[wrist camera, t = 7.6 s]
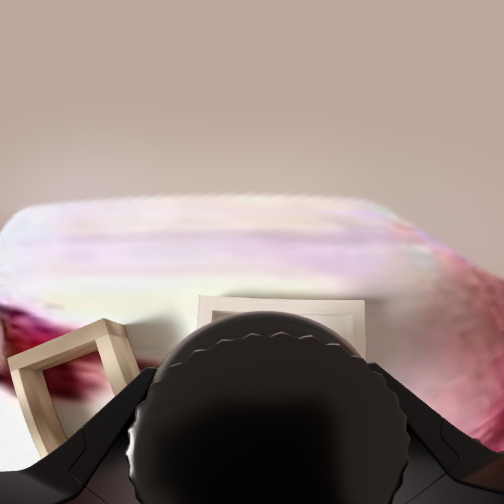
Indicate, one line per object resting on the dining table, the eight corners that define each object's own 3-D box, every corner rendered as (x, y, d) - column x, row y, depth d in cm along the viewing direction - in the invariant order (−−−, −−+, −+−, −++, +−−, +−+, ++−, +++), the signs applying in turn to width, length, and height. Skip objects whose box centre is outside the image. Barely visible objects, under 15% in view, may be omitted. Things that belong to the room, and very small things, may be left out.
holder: (178, 455, 17) (166, 469, 14) (74, 473, 16) (53, 483, 12) (123, 324, 21) (103, 318, 18) (31, 361, 19) (7, 358, 16)
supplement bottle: (325, 340, 16) (469, 285, 4) (311, 453, 13) (410, 576, 2) (204, 327, 16) (104, 245, 5) (190, 441, 13) (84, 556, 2)
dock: (351, 449, 18) (359, 456, 16) (196, 450, 18) (191, 457, 16) (355, 305, 22) (364, 300, 20) (203, 301, 22) (199, 295, 20)
